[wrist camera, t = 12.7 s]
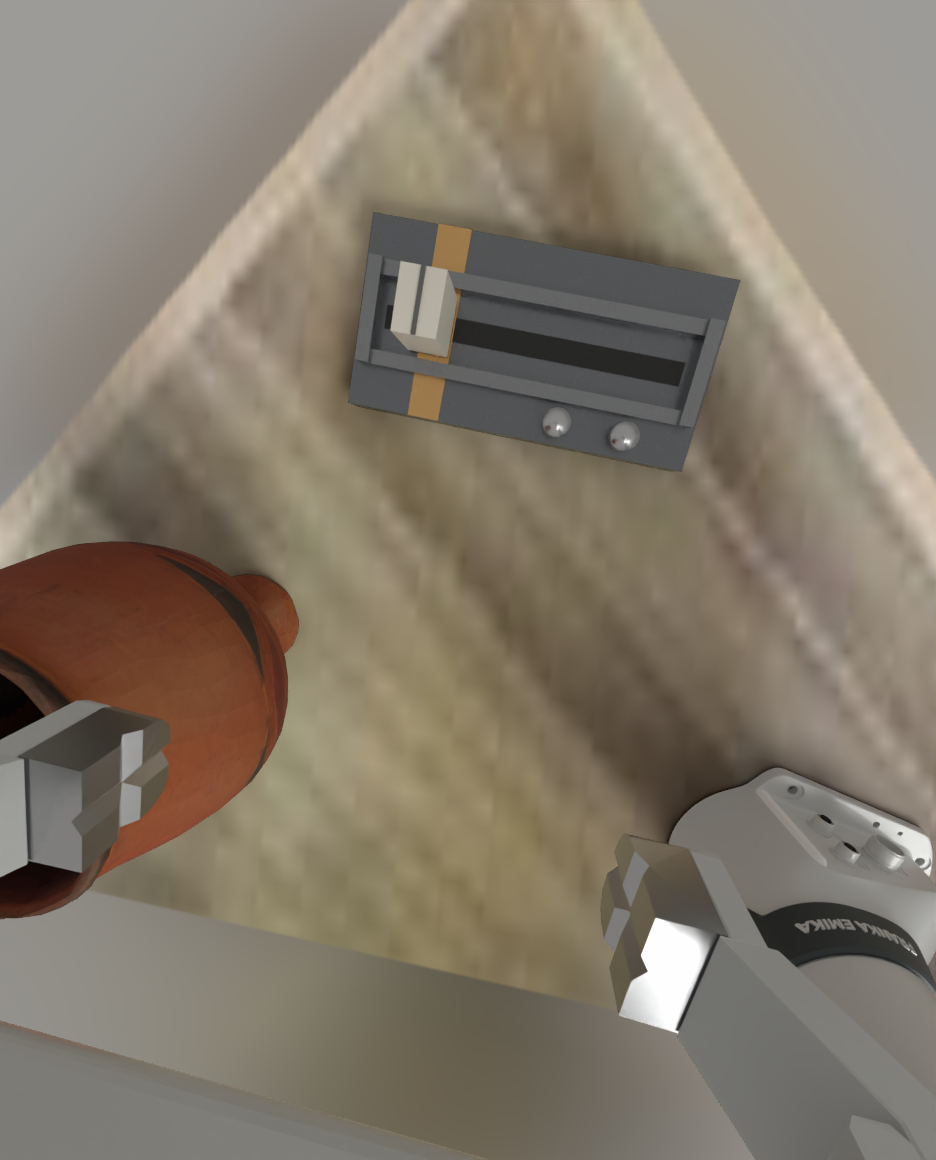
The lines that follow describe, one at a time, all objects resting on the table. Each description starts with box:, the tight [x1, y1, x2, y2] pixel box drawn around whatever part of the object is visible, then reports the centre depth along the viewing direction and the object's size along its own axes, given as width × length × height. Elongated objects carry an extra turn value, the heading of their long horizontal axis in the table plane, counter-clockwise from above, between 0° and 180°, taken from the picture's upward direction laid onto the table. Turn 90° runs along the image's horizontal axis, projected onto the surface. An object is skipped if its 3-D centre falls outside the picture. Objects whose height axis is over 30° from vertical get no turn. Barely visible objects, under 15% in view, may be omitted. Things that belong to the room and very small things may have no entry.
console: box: [348, 212, 740, 471], centre depth 35 cm, size 26×13×4 cm, turn 78°
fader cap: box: [390, 261, 457, 358], centre depth 32 cm, size 3×4×5 cm
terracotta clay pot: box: [0, 541, 299, 919], centre depth 32 cm, size 19×19×25 cm
